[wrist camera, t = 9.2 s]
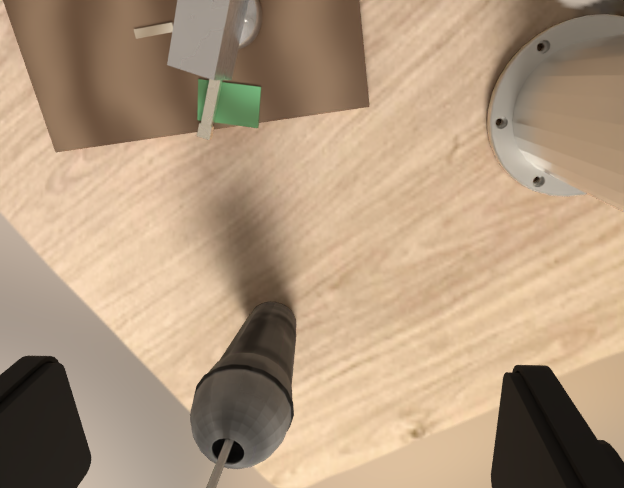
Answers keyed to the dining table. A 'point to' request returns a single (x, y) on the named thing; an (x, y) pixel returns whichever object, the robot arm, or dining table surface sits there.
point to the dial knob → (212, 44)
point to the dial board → (175, 82)
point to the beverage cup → (248, 393)
